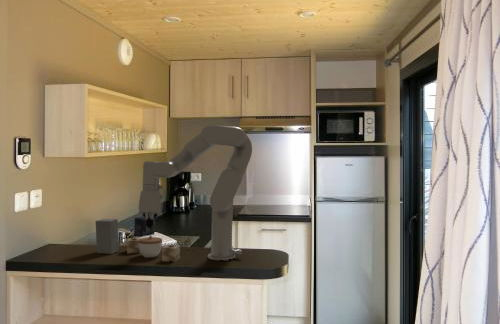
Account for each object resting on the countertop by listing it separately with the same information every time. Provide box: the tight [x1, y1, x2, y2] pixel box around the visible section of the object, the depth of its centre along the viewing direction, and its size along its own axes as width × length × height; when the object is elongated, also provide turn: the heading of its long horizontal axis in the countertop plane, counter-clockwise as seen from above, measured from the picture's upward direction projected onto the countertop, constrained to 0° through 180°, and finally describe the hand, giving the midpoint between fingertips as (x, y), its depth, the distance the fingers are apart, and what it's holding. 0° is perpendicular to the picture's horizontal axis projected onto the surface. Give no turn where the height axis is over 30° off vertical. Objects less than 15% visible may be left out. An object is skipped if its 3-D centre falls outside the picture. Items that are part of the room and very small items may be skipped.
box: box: [133, 215, 156, 238], centre depth 241 cm, size 11×7×10 cm, turn 148°
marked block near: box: [161, 244, 181, 263], centre depth 184 cm, size 6×6×6 cm
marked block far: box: [126, 237, 142, 254], centre depth 198 cm, size 6×6×6 cm
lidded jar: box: [138, 235, 163, 259], centre depth 190 cm, size 11×11×9 cm
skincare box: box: [95, 218, 120, 255], centre depth 195 cm, size 8×7×16 cm
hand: (149, 227), depth 190 cm, fingers closed
